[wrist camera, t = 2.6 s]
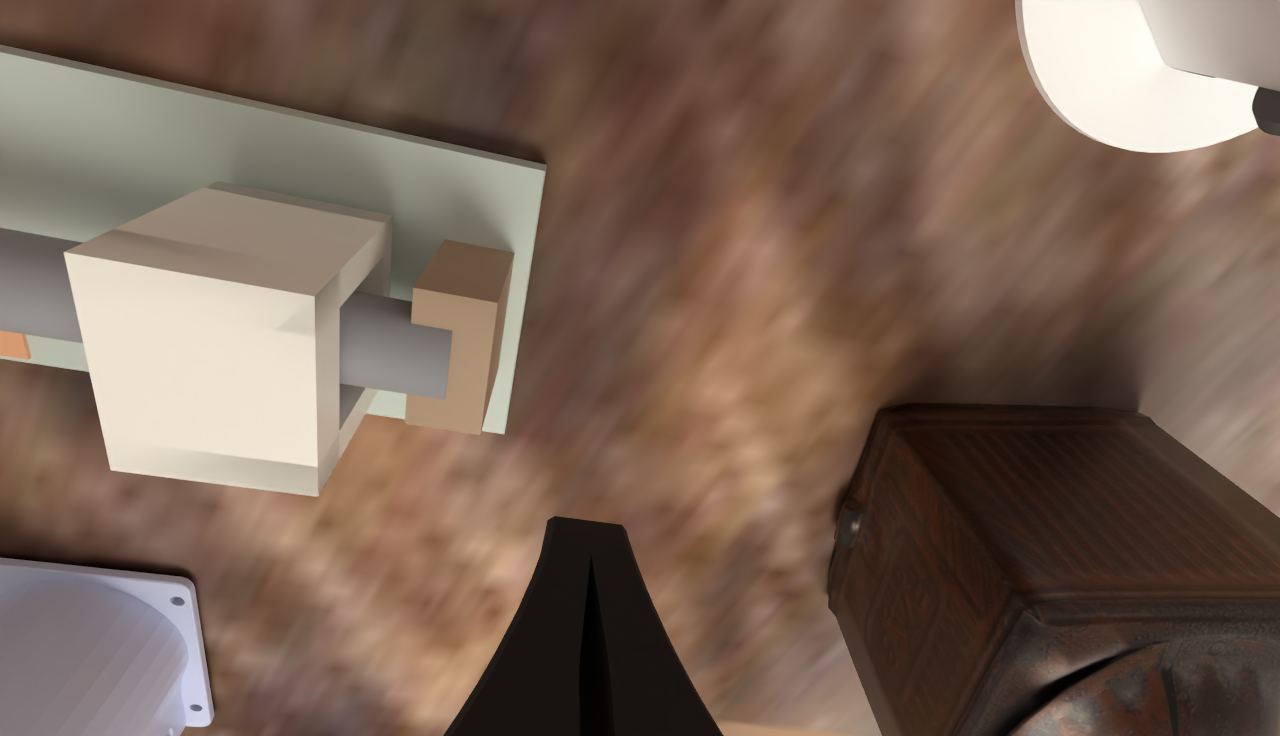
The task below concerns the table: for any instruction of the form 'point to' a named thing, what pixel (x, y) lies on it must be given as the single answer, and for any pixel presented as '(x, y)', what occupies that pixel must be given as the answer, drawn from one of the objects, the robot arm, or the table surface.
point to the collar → (228, 335)
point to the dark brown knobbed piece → (1054, 579)
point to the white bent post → (1156, 68)
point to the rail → (284, 163)
